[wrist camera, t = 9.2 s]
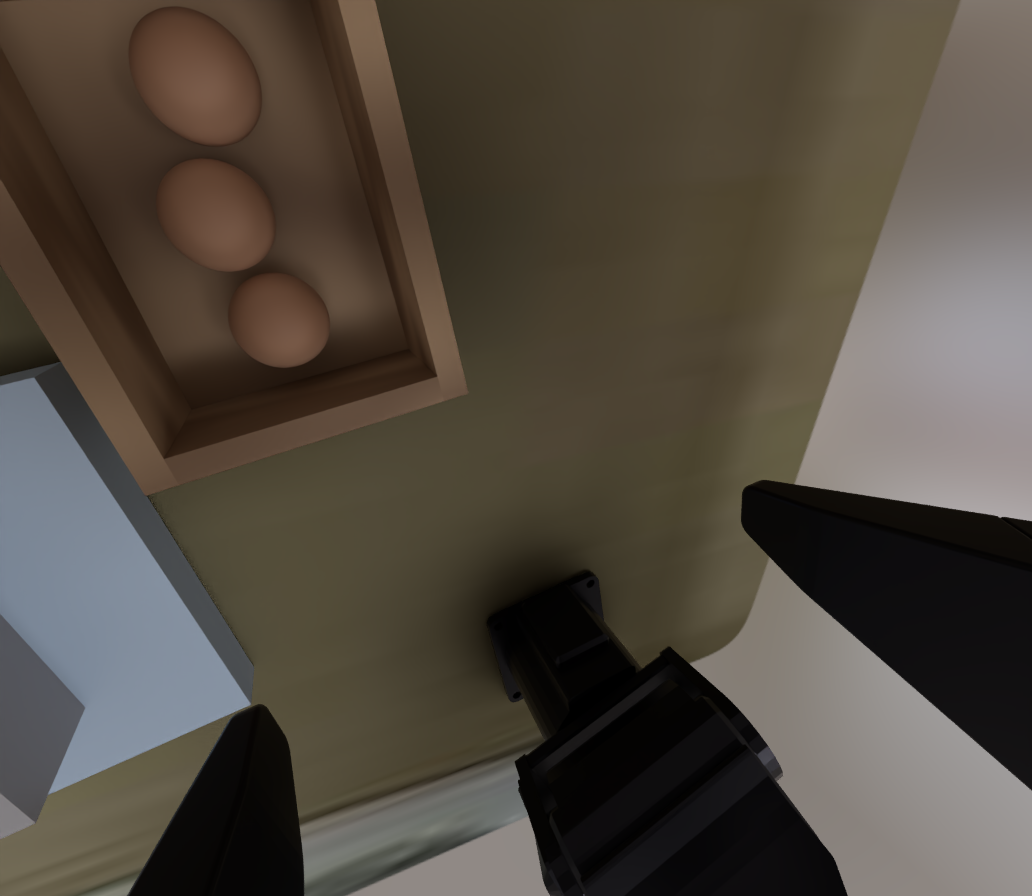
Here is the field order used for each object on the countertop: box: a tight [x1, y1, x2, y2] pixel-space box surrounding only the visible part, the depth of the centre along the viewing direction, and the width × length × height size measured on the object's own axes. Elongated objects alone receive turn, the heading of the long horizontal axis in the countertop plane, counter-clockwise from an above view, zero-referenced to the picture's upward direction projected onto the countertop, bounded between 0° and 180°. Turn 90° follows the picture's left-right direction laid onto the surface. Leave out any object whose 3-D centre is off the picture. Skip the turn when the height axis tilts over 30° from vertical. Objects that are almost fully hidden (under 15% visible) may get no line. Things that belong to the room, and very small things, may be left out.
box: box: [0, 0, 468, 496], centre depth 13 cm, size 12×9×5 cm
